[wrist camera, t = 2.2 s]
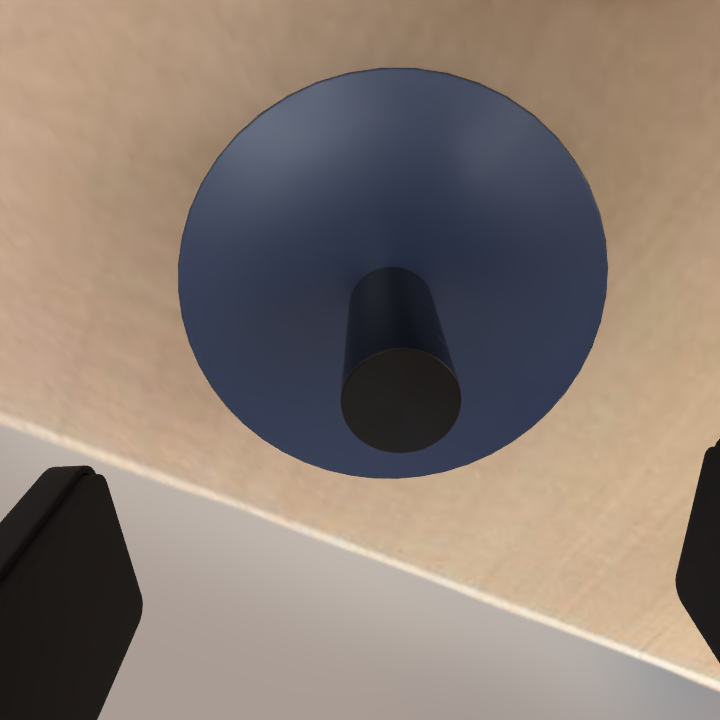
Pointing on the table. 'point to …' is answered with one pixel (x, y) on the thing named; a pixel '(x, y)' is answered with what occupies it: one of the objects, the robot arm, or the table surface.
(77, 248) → the table surface
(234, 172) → the lid
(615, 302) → the table surface
